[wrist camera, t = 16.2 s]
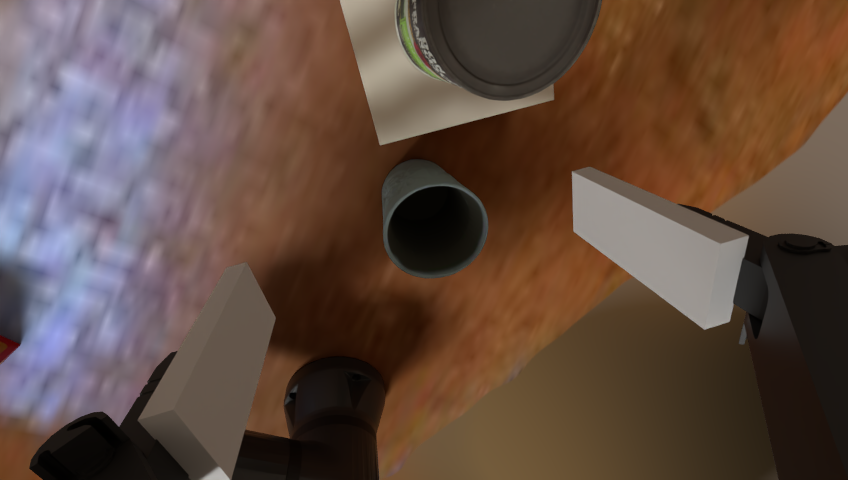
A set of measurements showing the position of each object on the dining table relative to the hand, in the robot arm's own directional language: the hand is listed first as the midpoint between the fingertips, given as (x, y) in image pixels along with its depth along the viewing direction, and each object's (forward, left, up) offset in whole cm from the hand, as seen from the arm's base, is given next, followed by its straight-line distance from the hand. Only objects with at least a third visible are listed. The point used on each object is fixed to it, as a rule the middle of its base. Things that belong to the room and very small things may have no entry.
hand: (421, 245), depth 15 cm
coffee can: (+8, -9, -24) cm, 27 cm away
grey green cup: (-9, -2, -30) cm, 31 cm away
